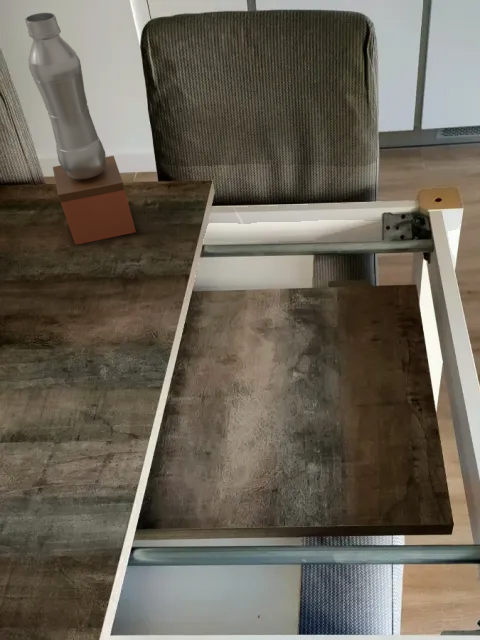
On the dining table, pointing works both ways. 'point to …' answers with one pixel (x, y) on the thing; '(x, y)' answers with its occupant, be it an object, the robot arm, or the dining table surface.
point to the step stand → (95, 204)
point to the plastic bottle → (64, 98)
